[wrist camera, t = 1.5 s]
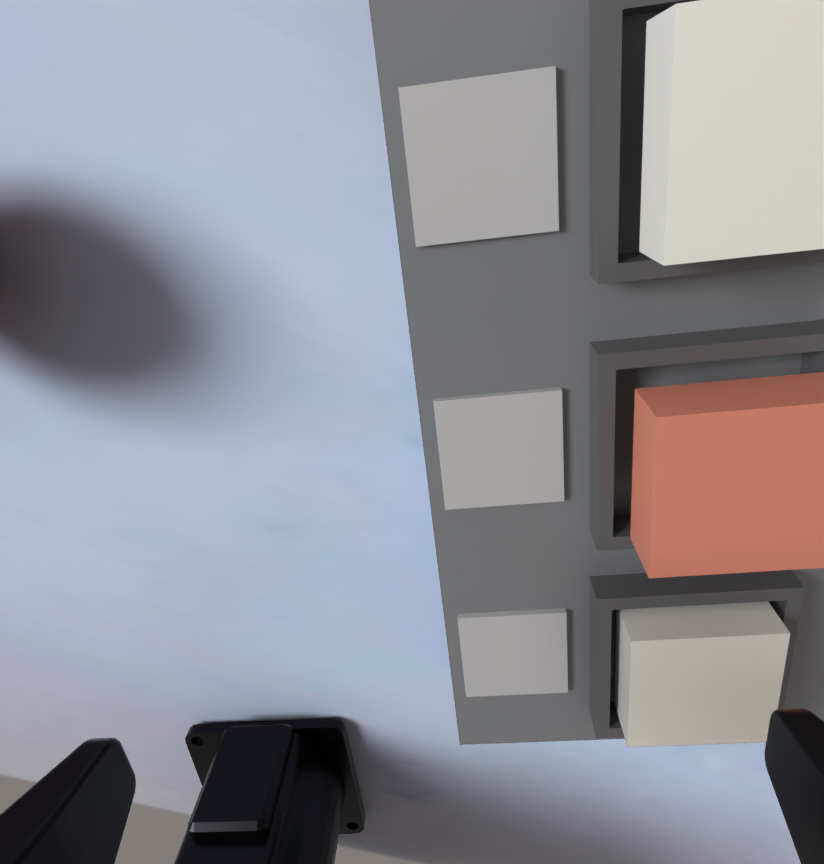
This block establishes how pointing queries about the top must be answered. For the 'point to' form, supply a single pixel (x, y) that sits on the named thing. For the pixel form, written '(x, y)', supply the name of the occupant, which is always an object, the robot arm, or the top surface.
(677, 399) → the button middle
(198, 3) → the top surface
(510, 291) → the button panel
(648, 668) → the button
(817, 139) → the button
